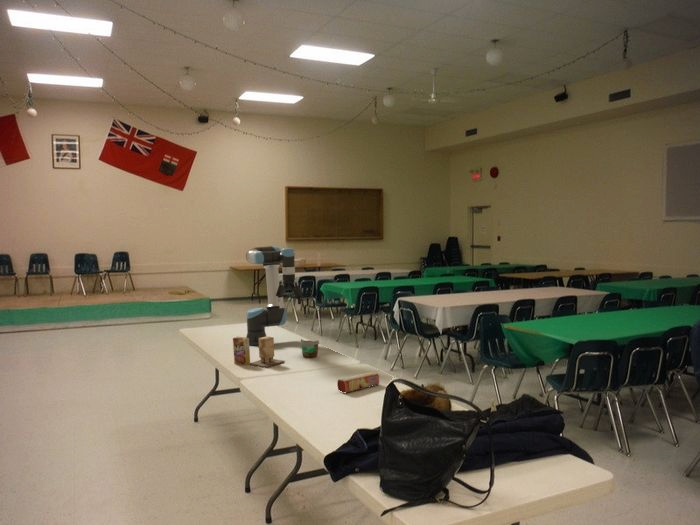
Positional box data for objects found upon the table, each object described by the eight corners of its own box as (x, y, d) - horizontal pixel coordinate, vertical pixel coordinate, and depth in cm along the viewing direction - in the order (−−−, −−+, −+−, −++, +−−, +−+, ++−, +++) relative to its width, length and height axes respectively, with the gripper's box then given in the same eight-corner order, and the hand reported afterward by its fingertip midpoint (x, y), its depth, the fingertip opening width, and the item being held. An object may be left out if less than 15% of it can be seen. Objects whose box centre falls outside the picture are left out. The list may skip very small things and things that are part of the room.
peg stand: (249, 365, 312) (249, 358, 312) (267, 359, 323) (266, 352, 323) (267, 368, 304) (267, 361, 303) (284, 362, 315) (284, 355, 315)
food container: (296, 357, 326) (295, 340, 325) (302, 355, 331) (301, 338, 330) (314, 359, 320) (313, 342, 319) (319, 356, 325) (319, 340, 325)
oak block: (259, 357, 313) (258, 338, 312) (266, 355, 317) (266, 336, 317) (267, 358, 309) (266, 339, 308) (274, 356, 314) (273, 337, 313)
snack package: (372, 382, 270) (371, 369, 270) (380, 385, 265) (380, 372, 264) (336, 392, 258) (336, 377, 257) (345, 395, 252) (344, 380, 252)
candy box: (233, 364, 316) (232, 337, 315) (238, 362, 320) (237, 336, 318) (245, 365, 311) (244, 338, 310) (250, 363, 315) (249, 337, 314)
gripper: (269, 273, 335) (270, 308, 337) (300, 275, 321) (301, 311, 322) (277, 272, 341) (278, 306, 343) (308, 274, 327) (309, 309, 328)
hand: (289, 308), depth 333 cm, fingers open, 13 cm apart
